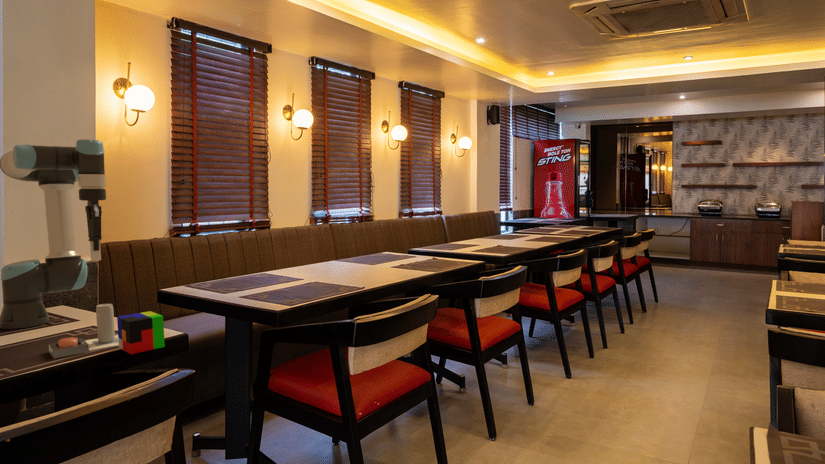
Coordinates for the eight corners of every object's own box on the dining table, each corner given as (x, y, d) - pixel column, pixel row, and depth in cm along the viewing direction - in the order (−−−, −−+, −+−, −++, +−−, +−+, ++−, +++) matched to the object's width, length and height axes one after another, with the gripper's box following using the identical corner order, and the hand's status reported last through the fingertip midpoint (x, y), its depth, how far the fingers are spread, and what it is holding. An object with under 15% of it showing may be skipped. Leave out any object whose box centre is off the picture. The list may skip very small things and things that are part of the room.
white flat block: (81, 342, 174) (81, 340, 174) (122, 335, 182) (121, 334, 182) (89, 350, 164) (89, 349, 164) (132, 343, 172) (132, 342, 172)
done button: (57, 350, 163) (57, 339, 163) (76, 347, 167) (76, 336, 166) (60, 354, 160) (59, 342, 159) (79, 350, 163) (79, 339, 163)
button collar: (49, 351, 164) (48, 344, 163) (82, 345, 170) (82, 338, 169) (53, 358, 157) (53, 350, 157) (88, 352, 163) (88, 344, 163)
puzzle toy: (118, 348, 167) (117, 316, 167) (151, 341, 175) (150, 311, 174) (130, 354, 161) (129, 322, 160) (164, 347, 168) (163, 315, 167)
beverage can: (107, 343, 170) (105, 307, 169) (94, 343, 171) (92, 306, 170) (118, 339, 175) (116, 303, 174) (105, 339, 176) (103, 303, 175)
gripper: (75, 187, 174) (79, 259, 177) (82, 188, 165) (86, 263, 167) (101, 187, 179) (105, 257, 182) (109, 188, 169) (113, 261, 172)
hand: (96, 260), depth 174 cm, fingers closed
